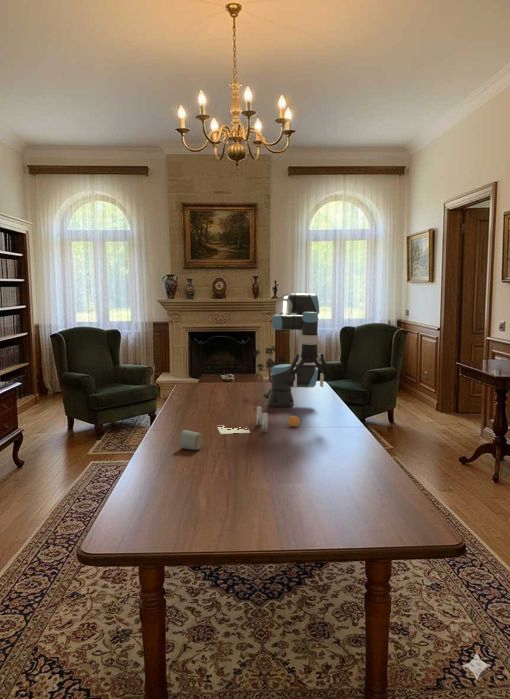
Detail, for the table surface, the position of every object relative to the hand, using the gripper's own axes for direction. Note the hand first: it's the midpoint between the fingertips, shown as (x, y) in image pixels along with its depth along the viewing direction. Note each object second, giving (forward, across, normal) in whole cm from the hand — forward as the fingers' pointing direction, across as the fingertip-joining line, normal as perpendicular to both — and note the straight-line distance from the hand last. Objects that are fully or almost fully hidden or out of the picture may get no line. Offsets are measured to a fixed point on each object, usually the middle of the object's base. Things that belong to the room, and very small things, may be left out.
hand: (308, 387), depth 246 cm
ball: (+17, +7, +1) cm, 18 cm away
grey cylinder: (+20, +59, +25) cm, 67 cm away
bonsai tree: (+19, +1, -67) cm, 70 cm away
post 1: (+19, +23, -6) cm, 31 cm away
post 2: (+20, +23, +7) cm, 31 cm away
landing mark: (+19, +37, +1) cm, 42 cm away
